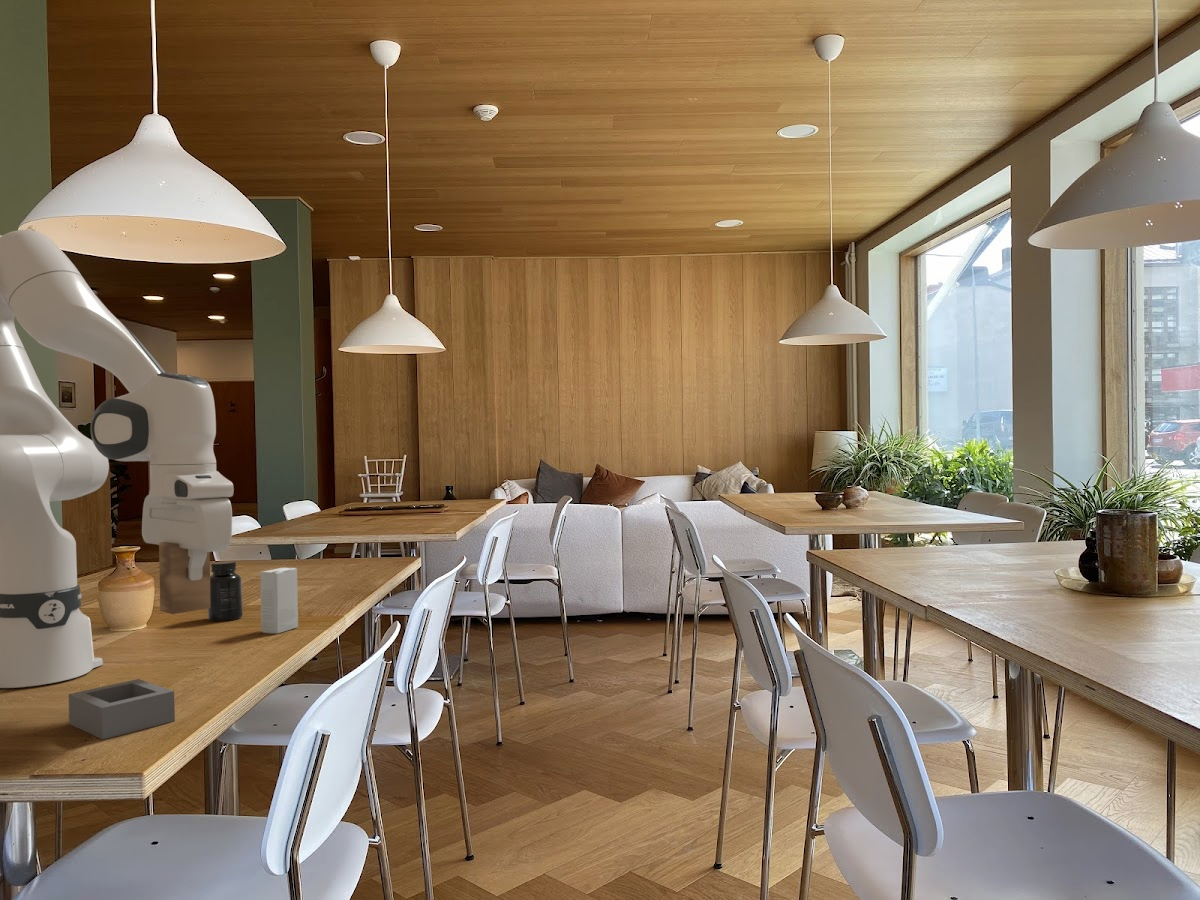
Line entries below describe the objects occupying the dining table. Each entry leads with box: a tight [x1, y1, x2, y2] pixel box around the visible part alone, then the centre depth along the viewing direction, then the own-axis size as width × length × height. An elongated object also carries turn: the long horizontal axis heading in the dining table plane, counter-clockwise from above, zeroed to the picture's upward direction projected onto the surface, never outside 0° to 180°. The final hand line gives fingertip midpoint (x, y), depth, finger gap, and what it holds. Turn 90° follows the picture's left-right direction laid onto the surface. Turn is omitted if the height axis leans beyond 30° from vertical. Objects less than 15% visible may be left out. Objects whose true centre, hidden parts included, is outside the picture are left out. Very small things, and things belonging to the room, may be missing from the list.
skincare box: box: [259, 567, 299, 635], centre depth 174 cm, size 6×4×12 cm
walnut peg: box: [158, 542, 211, 615], centre depth 129 cm, size 4×6×10 cm
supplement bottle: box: [207, 560, 244, 622], centre depth 187 cm, size 7×7×12 cm
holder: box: [68, 678, 176, 741], centre depth 117 cm, size 10×9×4 cm
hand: (185, 577), depth 129 cm, fingers closed on walnut peg, 4 cm apart
